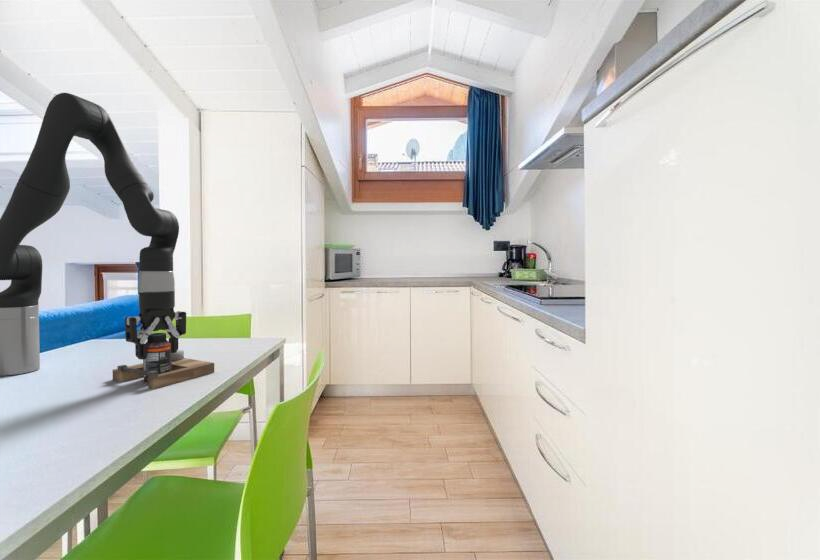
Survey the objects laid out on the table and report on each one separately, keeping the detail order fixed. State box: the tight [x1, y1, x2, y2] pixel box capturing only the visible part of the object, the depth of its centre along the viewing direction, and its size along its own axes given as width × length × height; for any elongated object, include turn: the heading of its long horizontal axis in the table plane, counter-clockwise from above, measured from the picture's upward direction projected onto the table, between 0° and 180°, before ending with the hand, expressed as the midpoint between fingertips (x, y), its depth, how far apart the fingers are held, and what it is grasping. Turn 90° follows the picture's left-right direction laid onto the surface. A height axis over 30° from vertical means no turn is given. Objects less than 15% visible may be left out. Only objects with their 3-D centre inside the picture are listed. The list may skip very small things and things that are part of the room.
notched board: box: [111, 357, 215, 390], centre depth 102 cm, size 16×16×4 cm
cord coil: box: [171, 349, 185, 361], centre depth 109 cm, size 5×5×2 cm
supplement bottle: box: [142, 332, 172, 382], centre depth 99 cm, size 6×6×11 cm
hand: (157, 355), depth 99 cm, fingers open, 7 cm apart
